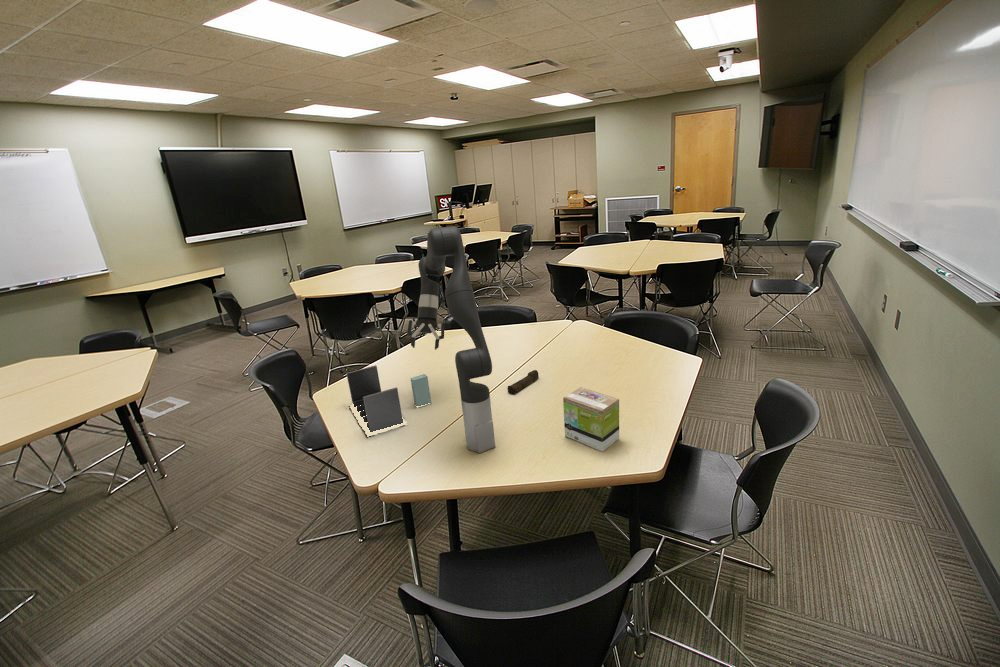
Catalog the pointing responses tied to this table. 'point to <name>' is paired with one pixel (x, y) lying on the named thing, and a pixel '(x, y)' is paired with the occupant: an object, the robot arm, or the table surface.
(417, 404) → the tall pale blue pillar
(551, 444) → the table surface
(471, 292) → the robot arm
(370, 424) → the rack
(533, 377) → the hand tool
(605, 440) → the tea box
